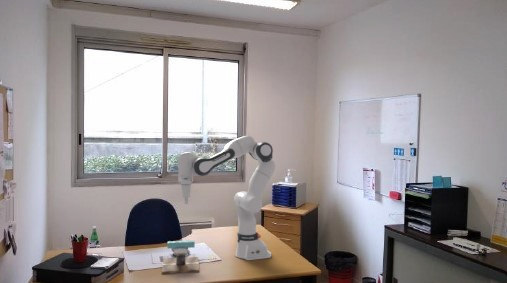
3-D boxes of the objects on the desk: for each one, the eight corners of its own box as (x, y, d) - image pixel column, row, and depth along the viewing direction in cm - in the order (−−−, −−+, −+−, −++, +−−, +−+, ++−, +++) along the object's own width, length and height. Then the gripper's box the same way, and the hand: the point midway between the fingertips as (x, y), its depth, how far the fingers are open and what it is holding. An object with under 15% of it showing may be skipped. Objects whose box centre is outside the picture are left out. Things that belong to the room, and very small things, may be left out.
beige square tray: (198, 258, 222) (198, 247, 221) (199, 272, 202) (199, 259, 202) (163, 260, 218) (164, 248, 218) (161, 273, 198) (161, 261, 198)
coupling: (167, 251, 212) (168, 240, 212) (194, 250, 215) (194, 239, 215) (167, 256, 204) (167, 244, 204) (194, 255, 207) (194, 243, 207)
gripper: (180, 176, 230) (180, 198, 231) (180, 182, 210) (180, 206, 211) (190, 176, 231) (191, 198, 232) (191, 181, 211) (192, 205, 212)
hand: (186, 202), depth 221 cm, fingers open, 8 cm apart
